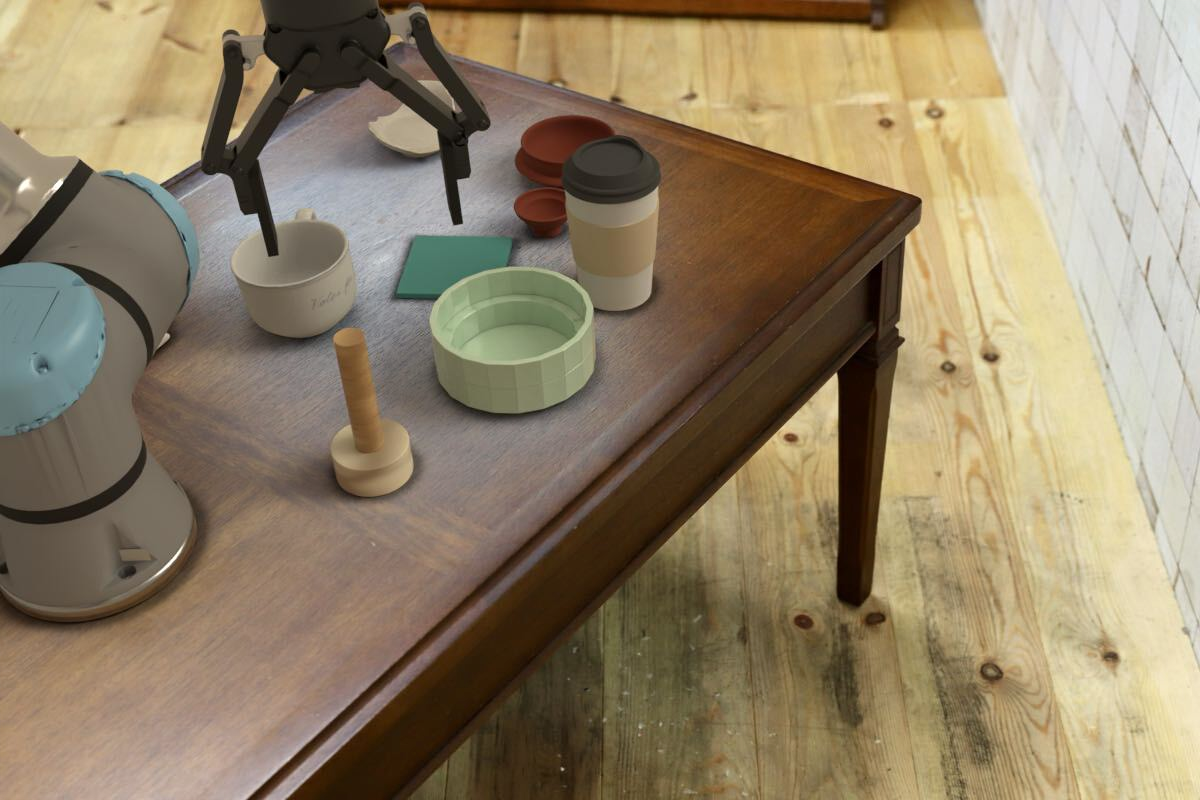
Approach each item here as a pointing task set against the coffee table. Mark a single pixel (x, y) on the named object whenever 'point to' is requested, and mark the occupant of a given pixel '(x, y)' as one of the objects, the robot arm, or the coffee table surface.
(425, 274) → the mat
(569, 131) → the pottery
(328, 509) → the coffee table surface
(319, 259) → the teacup
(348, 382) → the wooden peg
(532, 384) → the bowl
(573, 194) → the coffee cup
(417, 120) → the pottery shard
